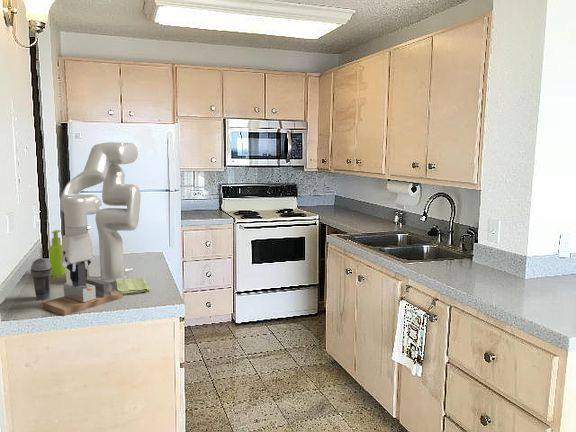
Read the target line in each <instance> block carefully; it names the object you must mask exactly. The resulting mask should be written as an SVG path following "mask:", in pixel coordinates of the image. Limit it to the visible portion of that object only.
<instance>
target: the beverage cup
mask: <svg viewBox="0 0 576 432" xmlns="http://www.w3.org/2000/svg"><path fill="white" fill-rule="evenodd" d="M51 270H52V267H51V264H50V260H48V259H46V258H43V247H40V258H37V259H35V260H34V261H32V264H31V266H30V272H31V275H32V276H31V277H32V281H33V286H34V292H35V297H36V300H37V301H47V300H50V299H51V298H50V297H51V281H52V280H51V279H52V276H51Z"/></svg>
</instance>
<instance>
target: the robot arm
mask: <svg viewBox="0 0 576 432" xmlns="http://www.w3.org/2000/svg"><path fill="white" fill-rule="evenodd" d="M138 150H139V149H138V147H137V146H136V145H135V143H133V142H111V141H109V142H101V143H97V144H94V145H93V146H92V147H91V150H90V152H89V155H88V158H87V160H86V163H85V165H84V169H83V170H82V172H80V173H79V174H77V175H75V176H74V177H73V178H72V179H70V180H69V181H68V182H67V183H66V185H65V187H64V188H63V191H62V194H61V197H60V200H59V208H60V210H61V212H62V213H63V214H64V216H63V217H64V235H62V239H61V245H62V246H61V259H62V261H61V264H60V265H61V266H63V267H65V269H66V268H67V269H68V270H69V271H70V279H71V281H74V282H77V281H78V278H77V271H76V263H77V262H81V263H85V271H86V279H87V268H88V267H89V266H90V264H91V263H92V262H93V261H95V259H96V257H95V256H94V253H93V246H92V245H93V243H92V239H91V235H90V233H89V231H90V230H91V226H89V225H88V215H89V216H90V215H95V226H96V228H97V229H96V230H97V234H98V235H97V236H98V249H99V252H98V253H99V267H100V269H99V270H100V276H98V277H97V278H96V279H99V280H103V281H107V282H110V283H111V285H114V282H115V280H116V279H129V277H128V275H127V274H129V273H132V272H133V271H134V269H133V268H132V267H129V268H127V267H124V246H123V242H124V241H123V239H122V236H121V234H120V233H119V232H118V231H121V232H122V231H126V232H128V231H129V232H130V231H135V230H136V229H137V228H138V226H139V225H138V224H139V218H140V208H141V207H140V206H141V190H140V188H139V187H138V186H137V185H135V184H134V183H133V184H131V183H125V177H126V176H125V172H124V170H123V169H122V167H121V166H120V165H129V164H132V163H134V162H136V160H137V158H138V154H139V151H138ZM99 184H102V192H101V194H102V195H101V199H100V197H98V196H97V195H95V194H82V193H81V194H79V193H80V192H82V191H84V190H85V189H86V190H87V189H89V188H91V187H94V186H97V185H99ZM102 203H103V204H104V205H106V206H112V207H113V208H112V207H106V208H102ZM117 207H119V208H117ZM121 207H126V208H121ZM67 262H68V264H67Z"/></svg>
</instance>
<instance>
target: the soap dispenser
mask: <svg viewBox="0 0 576 432" xmlns="http://www.w3.org/2000/svg"><path fill="white" fill-rule="evenodd" d="M59 232H62V230H59V229H58V230H57V229H55V230H53V231H52V232H51V233H52V234H53V238H51V245H50V246H49V247H48V249H49V262H50V264H51V267H52V270H51V277H61V276H65V275H66V267H63V266H61V265H60V264H61V261H62V259H61V246H62V244H61V238H60V237H59Z"/></svg>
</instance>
